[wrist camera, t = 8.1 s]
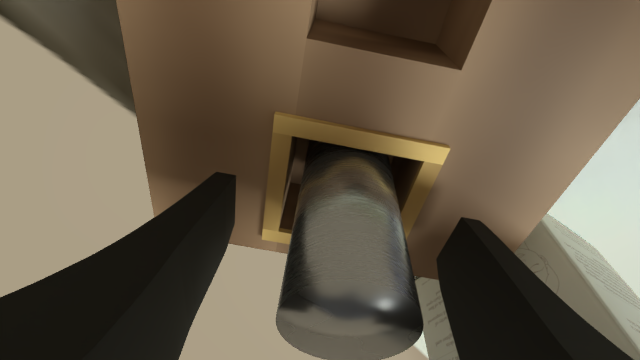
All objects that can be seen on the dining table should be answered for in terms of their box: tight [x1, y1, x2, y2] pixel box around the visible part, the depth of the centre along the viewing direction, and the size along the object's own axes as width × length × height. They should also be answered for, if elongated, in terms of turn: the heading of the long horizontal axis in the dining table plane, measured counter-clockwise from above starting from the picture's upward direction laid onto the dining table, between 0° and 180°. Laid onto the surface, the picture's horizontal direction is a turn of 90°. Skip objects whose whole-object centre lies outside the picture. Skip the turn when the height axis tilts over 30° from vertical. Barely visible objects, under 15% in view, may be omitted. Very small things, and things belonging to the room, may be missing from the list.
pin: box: [276, 139, 424, 360], centre depth 10 cm, size 3×3×8 cm
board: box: [116, 0, 640, 280], centre depth 11 cm, size 14×14×4 cm
